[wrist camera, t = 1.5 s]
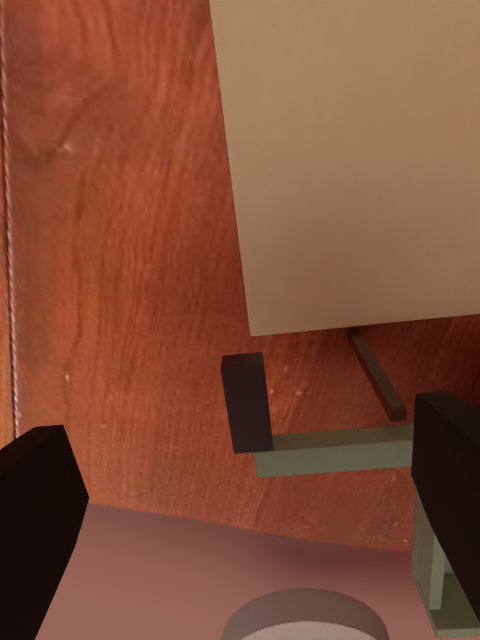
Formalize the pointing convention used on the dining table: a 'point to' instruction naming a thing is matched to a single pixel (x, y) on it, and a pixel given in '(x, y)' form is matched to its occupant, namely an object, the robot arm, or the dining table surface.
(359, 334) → the stand
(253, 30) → the mat
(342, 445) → the tray
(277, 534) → the dining table surface
